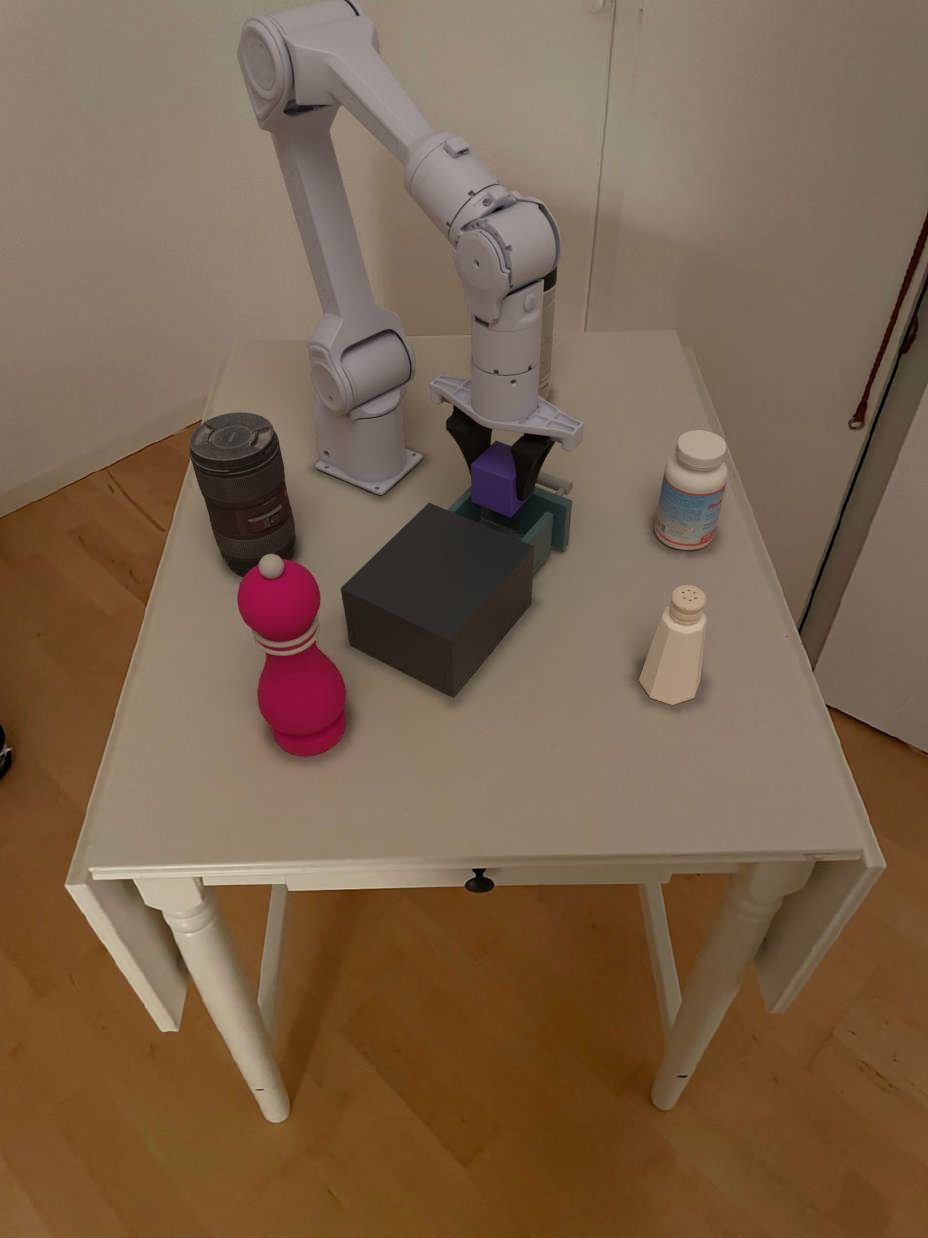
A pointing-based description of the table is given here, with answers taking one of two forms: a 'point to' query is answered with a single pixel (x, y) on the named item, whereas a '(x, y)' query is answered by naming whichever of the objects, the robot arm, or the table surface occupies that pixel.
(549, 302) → the spray can
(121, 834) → the table surface
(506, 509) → the purple upright block
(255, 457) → the camera lens
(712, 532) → the pill bottle
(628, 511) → the table surface
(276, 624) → the pepper mill
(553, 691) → the table surface
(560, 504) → the teal drawer
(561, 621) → the table surface
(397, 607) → the dark drawer box
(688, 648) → the salt shaker
